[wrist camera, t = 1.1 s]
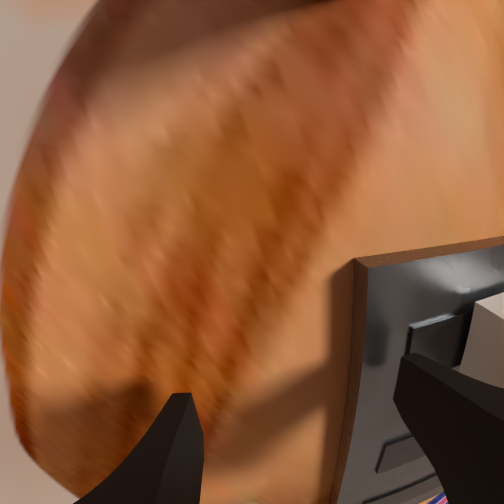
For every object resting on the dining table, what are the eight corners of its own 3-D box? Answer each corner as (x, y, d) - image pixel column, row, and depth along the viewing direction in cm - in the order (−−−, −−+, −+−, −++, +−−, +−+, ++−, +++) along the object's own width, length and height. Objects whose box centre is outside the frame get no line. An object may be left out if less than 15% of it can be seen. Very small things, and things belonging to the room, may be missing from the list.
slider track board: (576, 223, 12) (589, 227, 10) (505, 442, 17) (512, 449, 16) (353, 257, 10) (371, 270, 9) (324, 523, 16) (328, 536, 15)
